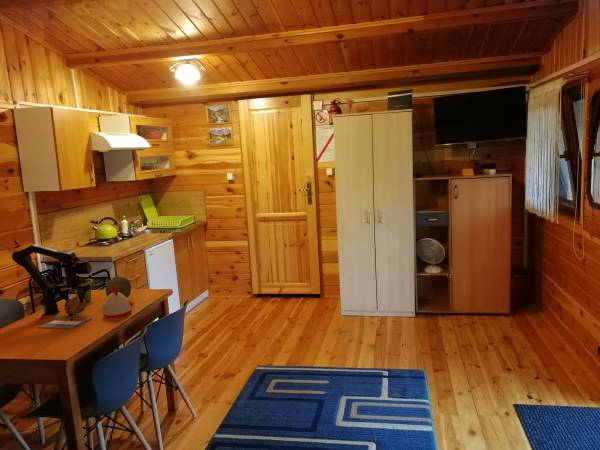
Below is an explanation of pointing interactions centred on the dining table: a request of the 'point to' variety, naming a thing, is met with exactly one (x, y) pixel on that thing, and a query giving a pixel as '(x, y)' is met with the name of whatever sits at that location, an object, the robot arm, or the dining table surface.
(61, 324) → the mat
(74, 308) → the tin
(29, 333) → the dining table surface
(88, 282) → the plant pot
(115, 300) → the kitchen timer
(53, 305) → the robot arm
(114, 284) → the cantaloupe
